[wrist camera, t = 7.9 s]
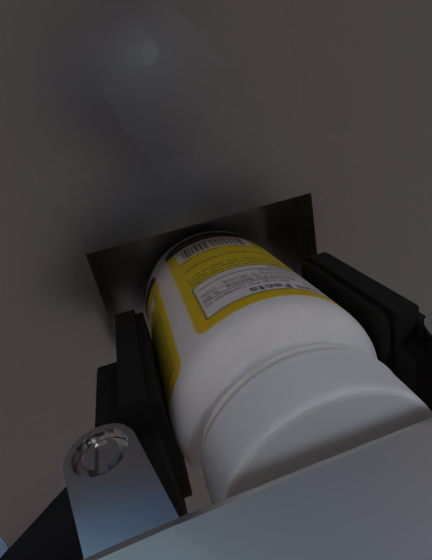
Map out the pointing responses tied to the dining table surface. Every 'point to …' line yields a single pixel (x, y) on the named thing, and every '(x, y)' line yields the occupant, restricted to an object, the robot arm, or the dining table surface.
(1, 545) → the dining table surface
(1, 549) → the dining table surface
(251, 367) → the supplement bottle
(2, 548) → the dining table surface
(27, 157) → the holder
